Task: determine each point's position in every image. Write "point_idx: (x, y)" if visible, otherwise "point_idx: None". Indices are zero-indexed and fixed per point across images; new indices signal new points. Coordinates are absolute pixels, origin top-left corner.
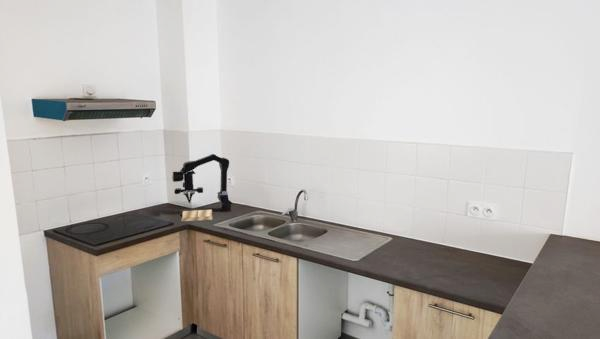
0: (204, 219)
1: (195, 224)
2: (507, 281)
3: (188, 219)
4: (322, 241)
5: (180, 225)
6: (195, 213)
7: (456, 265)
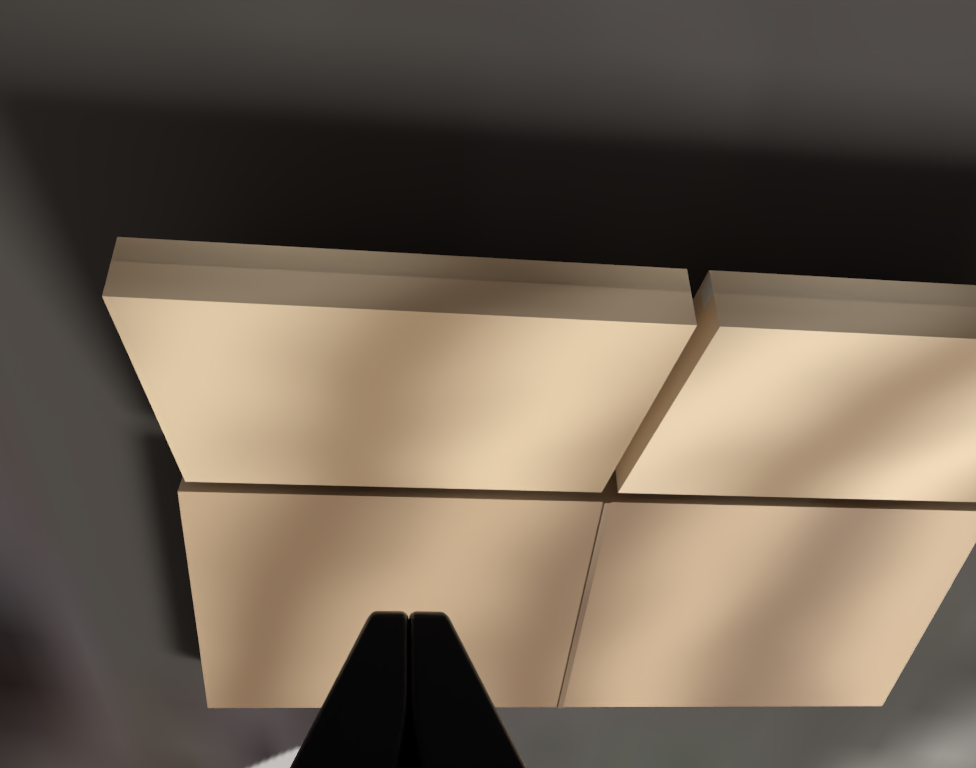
0: (732, 682)
1: None
2: None
3: None
4: None
5: (224, 757)
6: (593, 414)
7: None
